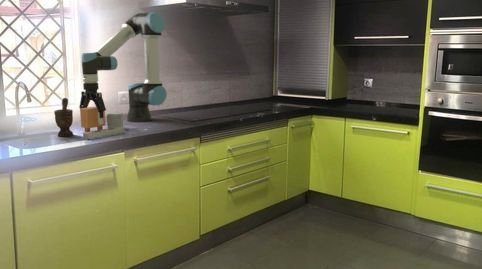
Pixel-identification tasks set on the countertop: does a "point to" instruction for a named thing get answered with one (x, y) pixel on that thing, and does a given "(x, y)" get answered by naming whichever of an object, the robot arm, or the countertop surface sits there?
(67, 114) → the mortar and pestle
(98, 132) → the rail
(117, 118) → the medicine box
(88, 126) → the orange block with prongs
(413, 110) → the countertop surface
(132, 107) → the robot arm
